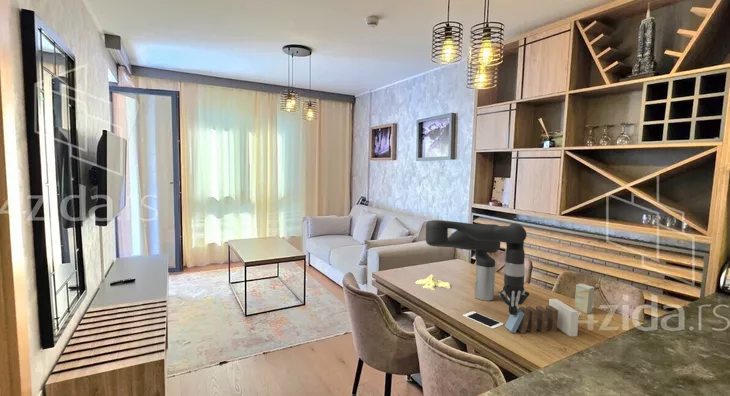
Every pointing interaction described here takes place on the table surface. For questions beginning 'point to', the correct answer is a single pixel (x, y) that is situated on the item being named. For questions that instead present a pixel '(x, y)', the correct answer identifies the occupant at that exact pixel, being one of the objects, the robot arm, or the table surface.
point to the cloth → (432, 283)
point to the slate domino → (514, 321)
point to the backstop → (566, 317)
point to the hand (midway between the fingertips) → (512, 314)
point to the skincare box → (584, 298)
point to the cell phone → (483, 319)
